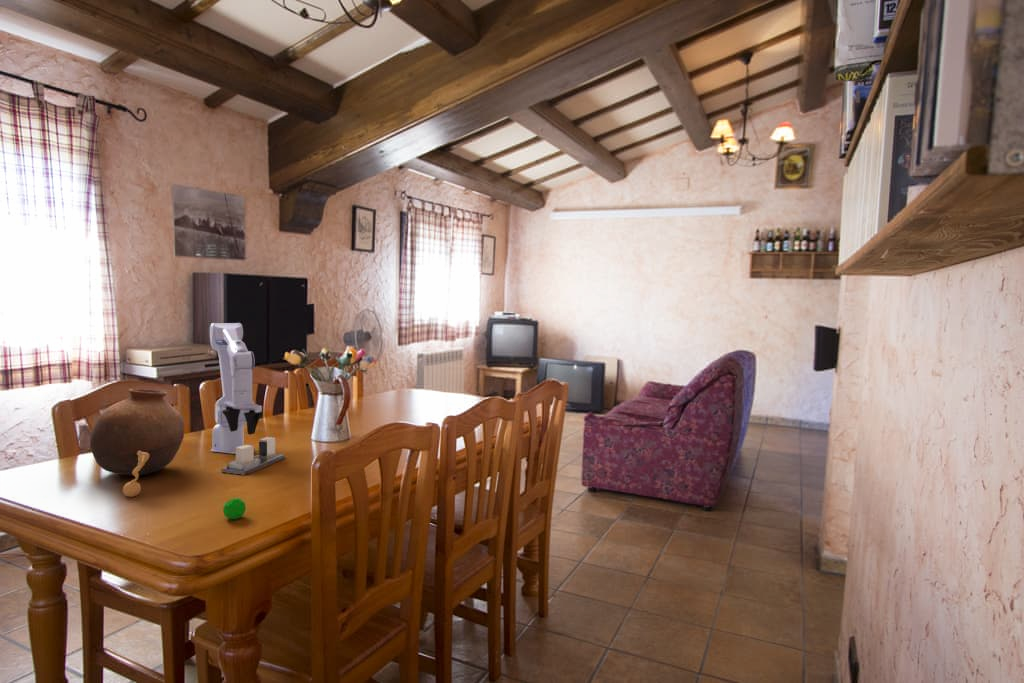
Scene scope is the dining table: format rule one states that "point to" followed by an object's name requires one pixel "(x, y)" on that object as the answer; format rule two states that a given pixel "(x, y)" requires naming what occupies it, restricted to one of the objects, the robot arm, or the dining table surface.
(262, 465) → the grey divided tray
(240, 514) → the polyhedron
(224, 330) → the robot arm
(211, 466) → the dining table surface
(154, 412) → the pottery
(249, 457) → the block
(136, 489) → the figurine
